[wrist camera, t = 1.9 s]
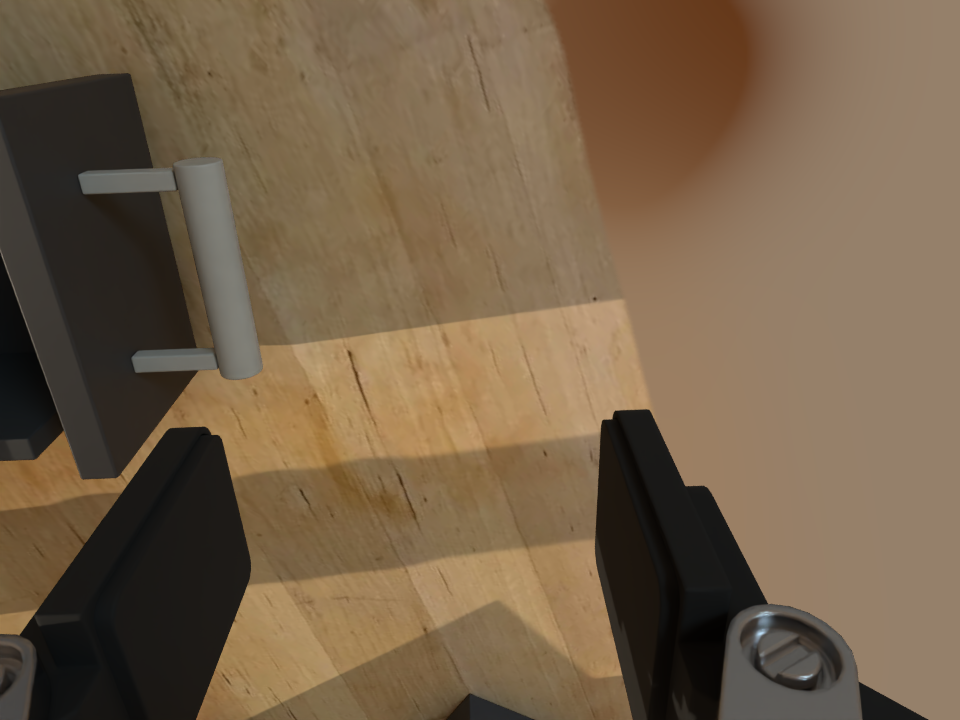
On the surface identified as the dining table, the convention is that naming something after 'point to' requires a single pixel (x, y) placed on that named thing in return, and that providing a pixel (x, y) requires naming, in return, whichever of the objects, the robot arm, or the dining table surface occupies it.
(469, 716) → the control block
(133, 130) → the drawer
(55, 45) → the dining table surface
